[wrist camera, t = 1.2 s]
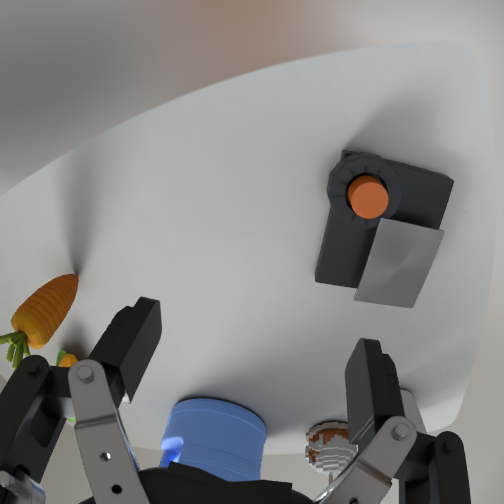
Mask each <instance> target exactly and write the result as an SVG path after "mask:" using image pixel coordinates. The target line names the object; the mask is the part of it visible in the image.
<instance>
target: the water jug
mask: <svg viewBox="0 0 504 504" xmlns="http://www.w3.org/2000/svg"><path fill="white" fill-rule="evenodd" d="M265 440H266V427H265V425H264V423H263V422H262V421H261V419H260V418H259V417H257V416H256V415H255V414H254V413H252V412H250V411H249V410H247V409H245V408H243V407H240V406H238V405H235V404H232V403H229V402H225V401H221V400H215V399H205V398H198V399H189V400H185V401H182V402H180V403H178V404H177V405H175V406H174V407H173V409H172V410H171V413H170V416H169V419H168V424H167V427H166V430H165V433H164V436H163V439H162V442H161V448H162V451H163V455H162V458H161V461H160V464H159V467H168V466H169V462H170V461H173V460H174V461H175V462H177V463H181V464H184V465H188V466H192V467H197V468H200V469H202V470H204V471H207V472H209V473H211V474H213V475H215V476H217V477H220V478H222V479H224V480H227V481H231V482H235V481H251V480H260V469H261V462H262V455H263V448H264V444H265Z"/></svg>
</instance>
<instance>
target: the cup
mask: <svg viewBox="0 0 504 504" xmlns="http://www.w3.org/2000/svg"><path fill="white" fill-rule="evenodd" d="M400 391H401V396H402V401H403V406H404V412H405V417H406V418H407V419H409V420H410V421H411V422H412V423H413V424H414V426H415V428H416V430H417V431H418V432H421V433H424V434H427V432H426V429H425V426H424V423H423V420H422V417H421V414H420V412H419V409H418V406H417V403H416V401H415V398H414V397H413V395H412V394H411V393H410V392H408V391H406V390H400Z"/></svg>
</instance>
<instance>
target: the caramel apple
mask: <svg viewBox="0 0 504 504" xmlns="http://www.w3.org/2000/svg"><path fill="white" fill-rule="evenodd" d="M306 437H307V441H309V446H306V450H305V454H306V460H309V466H312V467H313V470H316V473H324V476H326V475H329V484H330V483H331V482H332V481H333V475H338V471H342V470H343V469H344V467H345V466H346V465H347V464H348V463H349V461H350V460H351V459H352V458H353V457H354V455H355V454H356V453H357V447H356V445H352V444H349V434H348V424H347V425H345V423H341V424H338V422H333V423H323V425H317V426H316V427H313V429H309V433H306Z"/></svg>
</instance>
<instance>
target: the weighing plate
mask: <svg viewBox="0 0 504 504" xmlns="http://www.w3.org/2000/svg"><path fill="white" fill-rule="evenodd" d="M443 234H444V231H443V230H440V229H435V228H431V227H427V226H422V225H418V224H413V223H409V222H404V221H400V220H395V219H390V218H385V217H380V218H379V222H378V225H377V228H376V232H375V235H374V238H373V242H372V245H371V248H370V251H369V254H368V258H367V261H366V264H365V267H364V270H363V273H362V276H361V279H360V282H359V284H358V287H357V290H356V293H355V296H354V300H355V301H362V302H369V303H377V304H384V305H392V306H399V307H407V308H413V306H414V304H415V302H416V299H417V297H418V295H419V293H420V291H421V288H422V286H423V284H424V282H425V279H426V277H427V275H428V272H429V270H430V268H431V265H432V263H433V260H434V258H435V255H436V253H437V250H438V248H439V245H440V242H441V240H442V237H443Z"/></svg>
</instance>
